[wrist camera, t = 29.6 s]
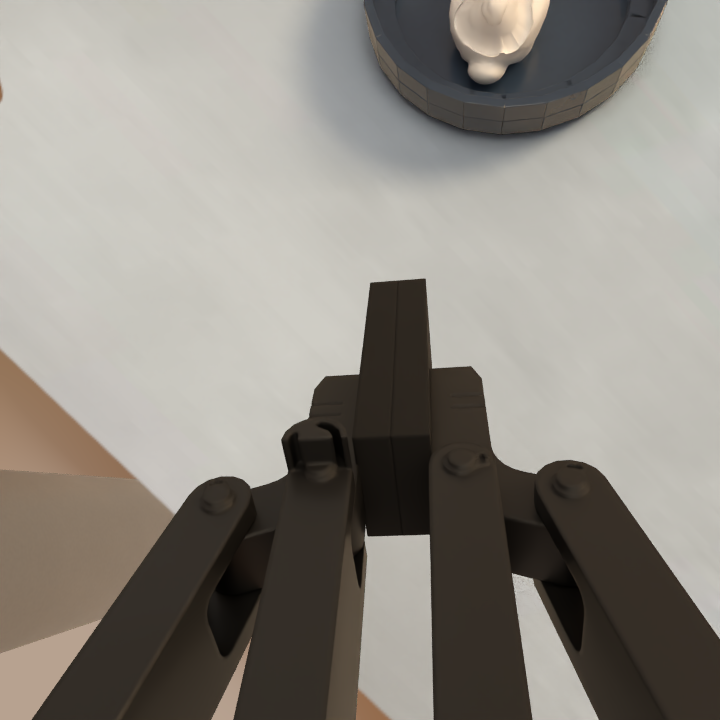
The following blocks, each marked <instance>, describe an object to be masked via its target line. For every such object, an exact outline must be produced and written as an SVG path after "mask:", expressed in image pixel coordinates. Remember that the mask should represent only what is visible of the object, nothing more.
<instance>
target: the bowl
mask: <svg viewBox="0 0 720 720" xmlns="http://www.w3.org/2000/svg"><path fill="white" fill-rule="evenodd" d="M667 2H668V0H550V4H549V8H548V11H547V15H546V17H545V20H544V22H543V24H542V27H541V29H540V31H539V33H538V35H537V37H536V39H535V41H534V44H533V46H532V49H531V50H530V52H529V54H528V55H527V56H526V57H525V58H523V59H522V60H521V61H520V62H517V63H514V64H510V65H508V67H507V69H506V71H505V73H504V75H503V76H502V77H501V78H500V79H499V80H498V81H496V82H494V83H492V84H486V85H484V84H479V83H476V82H475V81H473V80H472V79H471V78H470V76H469V74H468V62H466V61H465V60H463V58H462V57H461V55H460V52H459V50H458V49H457V47H456V45H455V42H454V40H453V37H452V34H451V32H450V19H449V11H450V4H451V0H364V8H365V14H366V19H367V25H368V31H369V36H370V40H371V43H372V45H373V48H374V51H375V54H376V57H377V59H378V62H379V65H380V67H381V69H382V70H383V71H384V73H385V74H386V75H387V77H388V78H389V79H390V81H391V82H392V83H393V85H394V86H395V87H396V89H397V90H398V91H399V93H400V94H401V95H402V96H403V97H405V98H406V99H407V100H409V101H410V102H411V103H413V104H414V105H415V106H417V107H418V108H419V109H421V110H422V111H423V112H425V113H426V114H427V115H429V116H431V117H434V118H436V119H439V120H441V121H444V122H446V123H449V124H451V125H454V126H456V127H459V128H461V129H465V130H473V131H480V132H487V133H495V134H512V133H522V132H532V131H540V130H543V129H546V128H549V127H552V126H555V125H558V124H561V123H563V122H566V121H569V120H572V119H575V118H577V117H580V116H582V115H583V114H585V113H586V112H588V111H589V110H591V109H592V108H594V107H595V106H597V105H599V104H600V103H602V102H603V101H605V100H606V99H608V98H609V97H611V96H612V95H613V94H614V93H615V92H616V90H617V89H618V88H619V87H620V86H621V85H622V84H623V83H624V82H625V81H626V80H627V78H628V77H629V76H630V75H631V74H632V73H633V72H634V71H635V70H636V68H637V67H638V65H639V63H640V61H641V59H642V57H643V55H644V53H645V51H646V49H647V47H648V45H649V43H650V41H651V39H652V37H653V35H654V32H655V30H656V28H657V26H658V23H659V21H660V19H661V16H662V14H663V12H664V9H665V7H666V5H667Z"/></svg>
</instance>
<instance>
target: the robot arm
mask: <svg viewBox="0 0 720 720" xmlns="http://www.w3.org/2000/svg"><path fill="white" fill-rule="evenodd" d="M281 441H282V446H283V450H284V454H285V459H286V463H287V467H288V474H287V475H286V476H285V477H283V478H281V479H279V480H278V481H275V482H272V483H269V484H266V485H263V486H259V487H256V488H252V489H250V486H249V485H248V484H247V483H246V482H245V481H244V480H242V479H239V478H236V477H218V478H215V479H211V480H208V481H206V482H205V483H203V484H201V485H199V486H198V487H197V488H196V489H195V490H194V491H193V492H192V493H191V494H190V495H189V496H188V498H187V499H186V500H185V502H184V503H183V505H182V506H181V508H180V509H179V510H178V512H177V513H176V515H175V516H174V517H173V519H172V520H171V522H170V523H169V525H168V526H167V527H166V529H165V530H164V532H163V533H162V535H161V536H160V537H159V539H158V540H157V542H156V543H155V545H154V546H153V547H152V549H151V550H150V552H149V553H148V555H147V556H146V557H145V559H144V560H143V562H142V563H141V565H140V566H139V567H138V569H137V570H136V572H135V573H134V575H133V576H132V577H131V579H130V580H129V582H128V583H127V585H126V586H125V587H124V589H123V590H122V592H121V593H120V595H119V596H118V597H117V599H116V600H115V602H114V603H113V604H112V606H111V607H110V609H109V610H108V612H107V613H106V614H105V616H104V617H103V619H102V620H101V622H100V623H99V625H98V626H97V627H96V629H95V630H94V632H93V633H92V635H91V636H90V637H89V639H88V640H87V642H86V643H85V645H84V646H83V647H82V649H81V650H80V652H79V653H78V655H77V656H76V657H75V659H74V660H73V662H72V663H71V665H70V666H69V667H68V669H67V670H66V672H65V673H64V674H63V676H62V677H61V679H60V680H59V682H58V683H57V684H56V686H55V687H54V689H53V690H52V691H51V693H50V694H49V696H48V697H47V699H46V700H45V701H44V703H43V704H42V706H41V707H40V709H39V710H38V711H37V713H36V714H35V716H34V717H33V719H32V720H211V719H212V717H213V714H214V713H215V710H216V708H217V706H218V704H219V702H220V700H221V698H222V696H223V694H224V692H225V690H226V688H227V686H228V684H229V682H230V680H231V677H232V676H233V674H234V672H235V670H236V667H237V665H238V663H239V661H240V659H241V657H242V655H243V653H244V651H245V649H246V647H247V645H248V643H249V641H250V639H251V643H250V647H249V652H248V656H247V661H246V665H245V670H244V674H243V679H242V683H241V688H240V692H239V697H238V701H237V706H236V711H235V715H234V719H233V720H356V706H357V692H358V678H359V664H360V650H361V636H362V622H363V607H364V593H365V579H366V565H367V553H366V547H365V541H364V538H365V526H366V529H367V535H368V536H398V535H430V558H431V608H432V658H433V707H434V720H532V713H531V706H530V699H529V692H528V685H527V678H526V671H525V664H524V656H523V649H522V642H521V635H520V628H519V621H518V614H517V607H516V600H515V593H514V586H513V579H512V573H513V574H517V575H521V576H525V577H529V578H533V581H534V585H535V587H536V589H537V591H538V593H539V596H540V598H541V600H542V602H543V604H544V606H545V608H546V610H547V612H548V614H549V616H550V618H551V621H552V623H553V625H554V627H555V629H556V631H557V633H558V635H559V637H560V639H561V641H562V643H563V646H564V648H565V650H566V652H567V654H568V656H569V658H570V660H571V662H572V664H573V666H574V669H575V671H576V673H577V675H578V677H579V679H580V681H581V683H582V685H583V687H584V689H585V691H586V694H587V696H588V698H589V700H590V702H591V704H592V706H593V708H594V710H595V712H596V714H597V717H598V719H599V720H720V639H719V637H718V636H717V635H716V633H715V632H714V630H713V629H712V628H711V626H710V625H709V623H708V622H707V620H706V619H705V618H704V616H703V615H702V613H701V612H700V611H699V609H698V608H697V606H696V605H695V603H694V602H693V601H692V599H691V598H690V596H689V595H688V594H687V592H686V591H685V589H684V588H683V586H682V585H681V584H680V582H679V581H678V579H677V578H676V576H675V575H674V574H673V572H672V571H671V569H670V568H669V567H668V565H667V564H666V562H665V561H664V559H663V558H662V557H661V555H660V554H659V552H658V551H657V550H656V548H655V547H654V545H653V544H652V542H651V541H650V540H649V538H648V537H647V535H646V534H645V533H644V531H643V530H642V528H641V527H640V525H639V524H638V523H637V521H636V520H635V518H634V517H633V516H632V514H631V513H630V511H629V510H628V508H627V507H626V506H625V504H624V503H623V501H622V500H621V499H620V497H619V496H618V494H617V493H616V491H615V490H614V489H613V487H612V486H611V484H610V483H609V482H608V480H607V479H606V477H605V476H604V475H603V474H602V473H601V472H600V471H599V470H597V469H596V468H594V467H592V466H590V465H588V464H586V463H584V462H578V461H573V460H564V461H555V462H553V463H550V464H547V465H545V466H544V467H543V468H542V469H541V470H540V471H538V472H537V474H533V473H527V472H523V471H519V470H516V469H513V468H511V467H509V466H507V465H505V464H504V463H502V462H501V461H500V460H498V458H497V457H496V456H495V454H494V453H493V450H492V447H491V441H490V434H489V427H488V420H487V413H486V407H485V399H484V392H483V385H482V378H481V377H480V376H479V375H478V374H477V373H476V371H475V370H474V369H473V368H472V367H471V366H469V367H452V368H435V369H432V360H431V346H430V333H429V319H428V306H427V292H426V279H414V280H400V281H387V282H374V283H370V290H369V299H368V307H367V316H366V324H365V332H364V341H363V349H362V357H361V366H360V374H359V375H343V376H326V377H325V378H324V379H323V380H322V381H321V382H320V384H319V385H318V386H317V387H316V388H315V389H314V394H313V399H312V406H311V409H310V413H309V418H308V419H307V420H304V421H301V422H299V423H297V424H294V425H293V426H292V427H291V428H290V429H288V430H287V431H286V432H285V434H284V436H283V437H282V439H281ZM251 637H252V638H251Z"/></svg>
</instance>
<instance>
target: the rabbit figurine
mask: <svg viewBox="0 0 720 720" xmlns="http://www.w3.org/2000/svg"><path fill="white" fill-rule="evenodd" d="M549 4H550V0H451V4H450V11H449V19H450V32H451V34H452V37H453V40H454V42H455V45H456V47H457V49H458V50H459V52H460V55H461V57H462V58H463V60H465V61H466V62H468V74H469V76H470V78H471V79H472V80H473V81H475V82H476V83H479V84H484V85H486V84H492V83H494V82H496V81H498V80H499V79H500V78H501V77H502V76H503V75H504V73H505V71H506V69H507V67H508V65H510V64H514V63H517V62H520V61H521V60H522V59H523V58H525V57H526V56H527V55H528V54H529V52H530V50H531V49H532V46H533V44H534V41H535V39H536V37H537V35H538V33H539V31H540V29H541V27H542V24H543V22H544V20H545V17H546V15H547V11H548V8H549Z"/></svg>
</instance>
